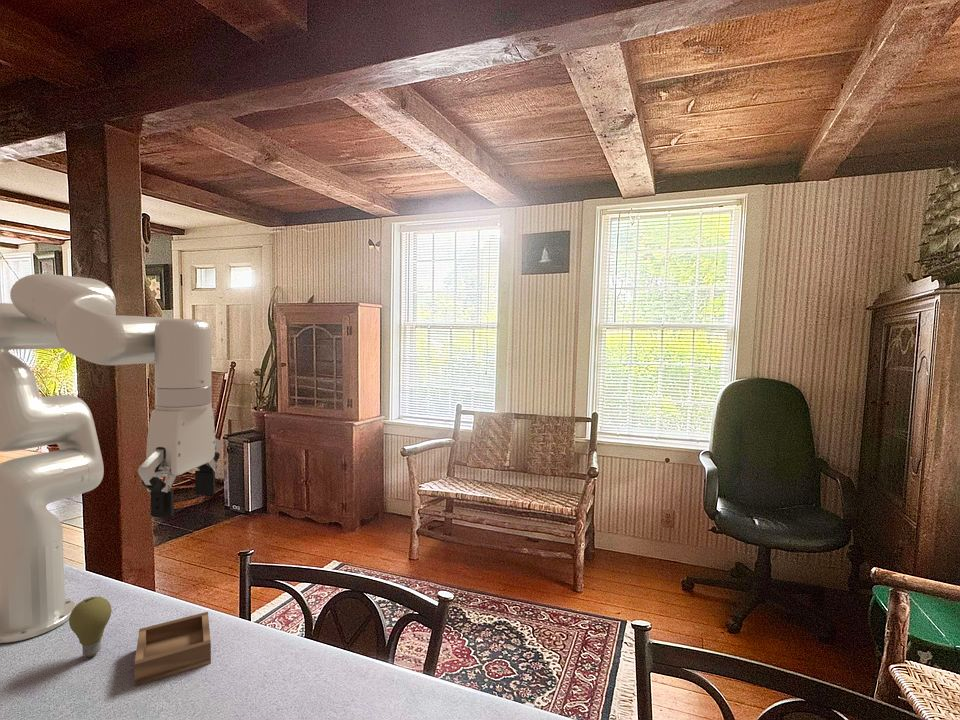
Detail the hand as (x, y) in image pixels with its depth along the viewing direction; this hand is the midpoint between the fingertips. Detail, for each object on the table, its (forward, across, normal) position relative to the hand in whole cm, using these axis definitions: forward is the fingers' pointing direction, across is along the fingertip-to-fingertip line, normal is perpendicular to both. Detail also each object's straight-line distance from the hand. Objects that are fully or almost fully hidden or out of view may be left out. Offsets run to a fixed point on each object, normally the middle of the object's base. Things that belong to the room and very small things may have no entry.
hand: (185, 504), depth 76 cm
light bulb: (+28, -2, -19) cm, 34 cm away
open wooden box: (+28, -4, -5) cm, 29 cm away
